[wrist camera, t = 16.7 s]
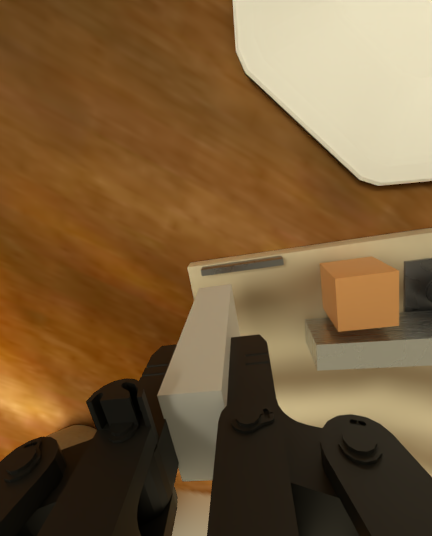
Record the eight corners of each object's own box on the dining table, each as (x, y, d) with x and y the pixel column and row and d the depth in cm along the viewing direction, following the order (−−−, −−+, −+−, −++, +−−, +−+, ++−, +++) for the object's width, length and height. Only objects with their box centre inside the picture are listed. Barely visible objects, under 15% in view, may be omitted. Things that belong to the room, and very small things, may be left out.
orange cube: (319, 263, 17) (335, 278, 14) (371, 256, 16) (399, 270, 13) (323, 308, 17) (338, 331, 14) (372, 302, 17) (399, 325, 14)
